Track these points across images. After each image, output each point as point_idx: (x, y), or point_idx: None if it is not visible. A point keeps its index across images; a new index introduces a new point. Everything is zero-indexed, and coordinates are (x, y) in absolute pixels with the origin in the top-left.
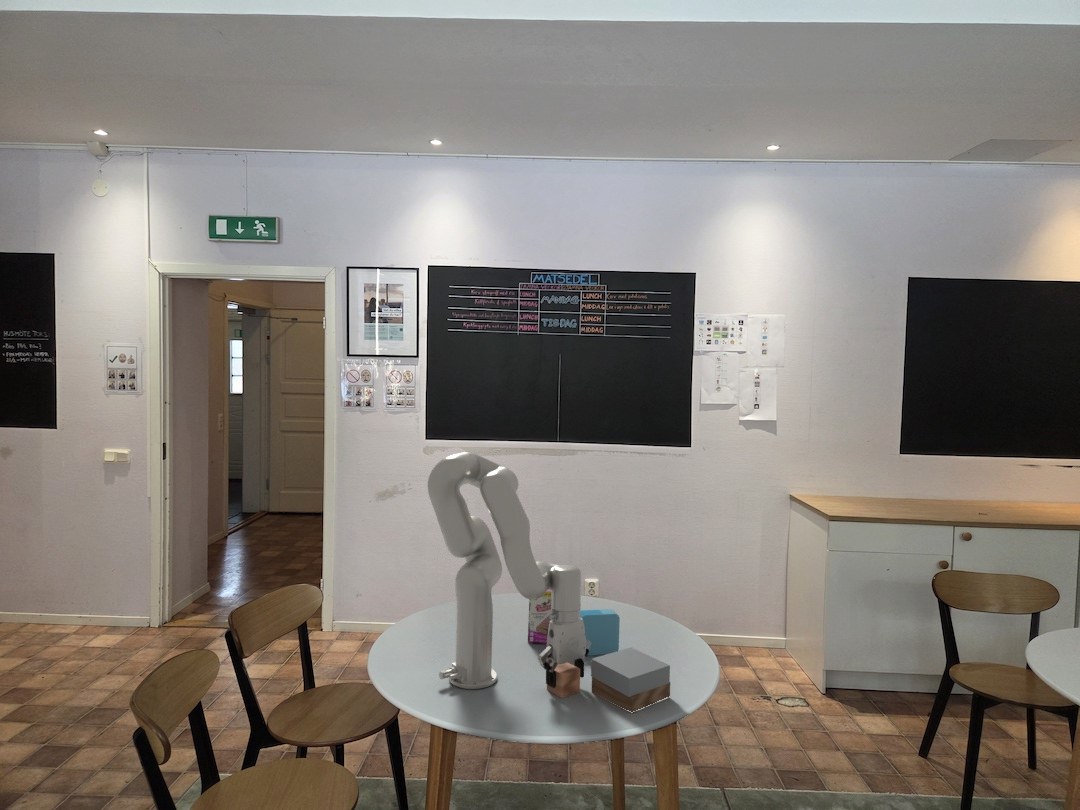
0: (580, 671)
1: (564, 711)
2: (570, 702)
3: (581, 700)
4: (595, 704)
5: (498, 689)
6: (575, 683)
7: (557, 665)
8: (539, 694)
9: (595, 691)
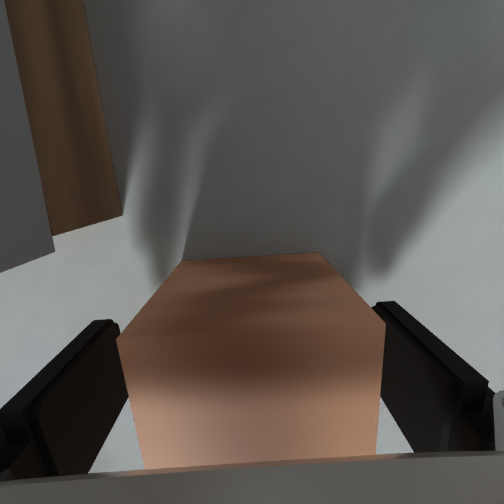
0: (97, 359)
1: (431, 103)
2: (317, 181)
3: (243, 164)
4: (199, 61)
5: None
6: (208, 279)
7: None
8: None
9: (106, 180)
